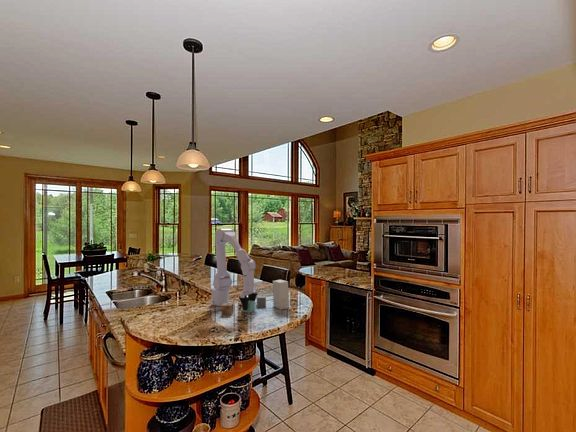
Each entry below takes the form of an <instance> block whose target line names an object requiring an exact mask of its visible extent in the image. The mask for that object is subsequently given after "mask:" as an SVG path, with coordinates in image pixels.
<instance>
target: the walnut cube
mask: <svg viewBox="0 0 576 432" xmlns="http://www.w3.org/2000/svg"><path fill="white" fill-rule="evenodd" d="M234 306H235V303H234V302H232V303H224V304H223V305H222V306H221V316H232V315H233V314H234V312H235V311H234V309H235V307H234Z"/></svg>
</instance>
